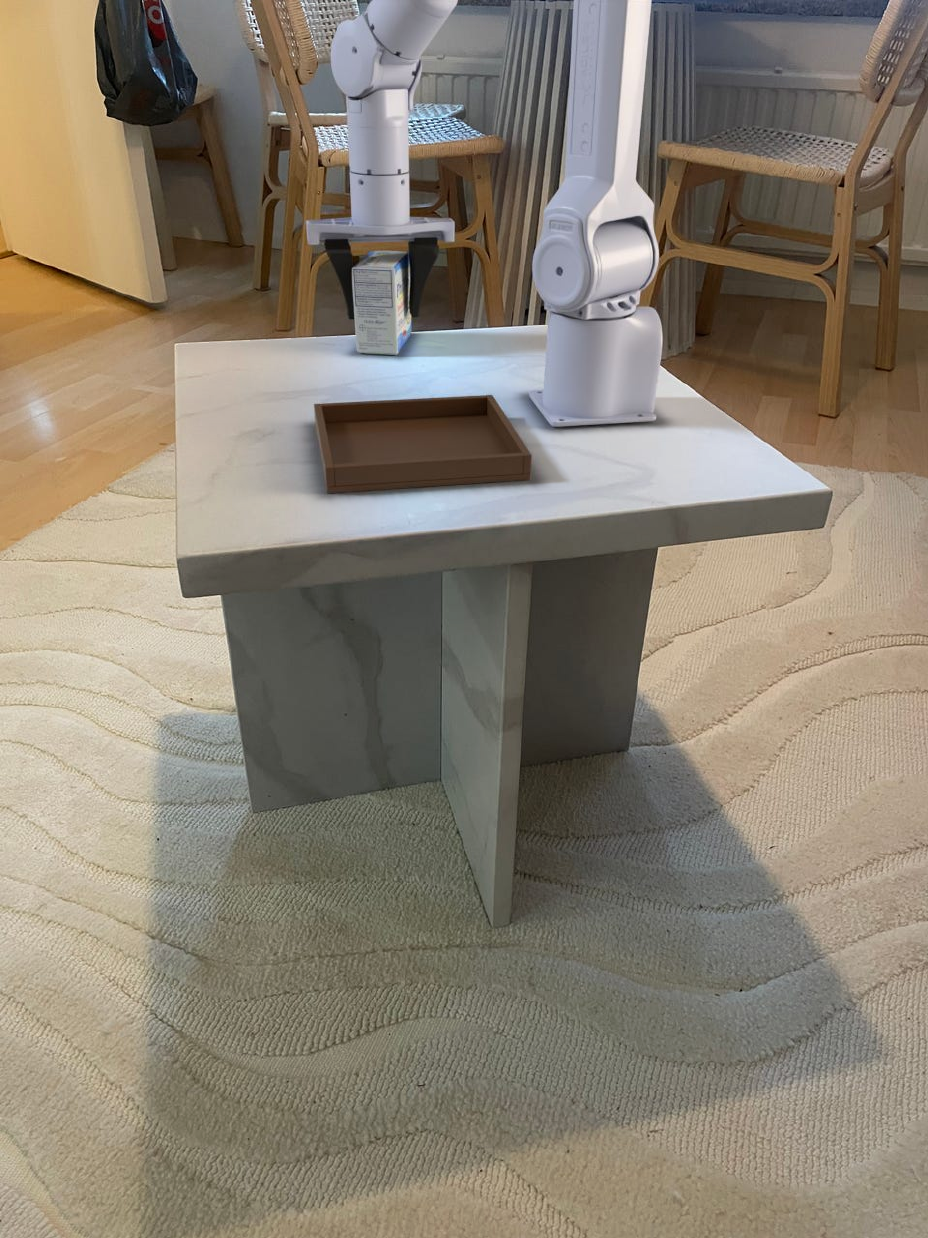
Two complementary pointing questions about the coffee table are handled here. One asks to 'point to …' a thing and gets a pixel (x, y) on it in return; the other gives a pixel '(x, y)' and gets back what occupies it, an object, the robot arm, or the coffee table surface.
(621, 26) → the robot arm
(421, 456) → the tray
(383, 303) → the medicine box
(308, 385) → the coffee table surface
